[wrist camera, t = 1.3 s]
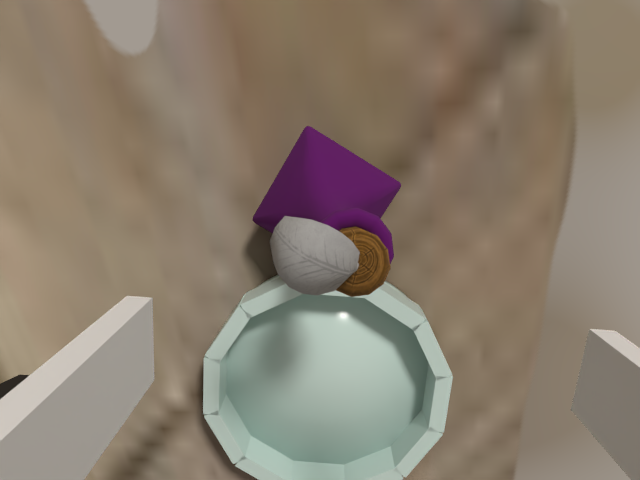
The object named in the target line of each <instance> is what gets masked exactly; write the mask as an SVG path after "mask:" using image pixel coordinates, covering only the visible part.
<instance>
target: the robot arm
mask: <svg viewBox="0 0 640 480" xmlns="http://www.w3.org/2000/svg"><path fill="white" fill-rule="evenodd" d="M153 381H154V346H153V303H152V298H150V297H136V296H126V297H125V298H124V299H123V300H121V301H120V302H119V303H118V304H116V305H115V306H114V307H113V308H112V309H110V310H109V311H108V312H107V313H105V314H104V315H103V316H102V317H101V318H99V319H98V320H97V321H96V322H94V323H93V324H92V325H91V326H89V327H88V328H87V329H86V330H85V331H83V332H82V333H81V334H80V335H78V336H77V337H76V338H75V339H74V340H72V341H71V342H70V343H69V344H67V345H66V346H65V347H64V348H63V349H61V350H60V351H59V352H58V353H56V354H55V355H54V356H53V357H52V358H50V359H49V360H48V361H47V362H45V363H44V364H43V365H42V366H40V367H39V368H38V369H37V370H36V371H34V372H33V373H32V374H31V375H18V376H16V377H14V378H12V379H9V380H7V381H5V382H3V383H1V384H0V480H84V479H85V478H86V476H87V475H88V473H89V472H90V470H91V469H92V468H93V466H94V465H95V463H96V462H97V460H98V459H99V458H100V456H101V455H102V453H103V452H104V451H105V449H106V448H107V446H108V445H109V443H110V442H111V441H112V439H113V438H114V436H115V435H116V433H117V432H118V431H119V429H120V428H121V426H122V425H123V424H124V422H125V421H126V419H127V418H128V416H129V415H130V414H131V412H132V411H133V409H134V408H135V406H136V405H137V404H138V402H139V401H140V399H141V398H142V397H143V395H144V394H145V392H146V391H147V389H148V388H149V387H150V385H151V384H152V382H153ZM571 411H572V412H573V413H574V414H575V415H576V416H577V418H578V419H579V420H580V421H581V422H582V423H583V424H584V426H585V427H586V428H587V429H588V430H589V432H590V433H591V434H592V435H593V436H594V437H595V438H596V440H597V441H598V442H599V443H600V444H601V445H602V447H604V449H605V450H606V451H607V452H608V453H609V455H610V456H611V457H612V458H613V459H614V461H615V462H616V463H617V464H618V465H619V466H620V467H621V469H622V470H623V471H624V472H625V473H626V474H627V475H628V477H629V478H630V479H631V480H640V348H639V347H637V346H636V345H634V344H633V343H632V342H630V341H628V340H627V339H626V338H625V337H623V336H622V335H620V334H619V333H617V332H616V331H611V330H597V329H589V333H588V337H587V342H586V346H585V350H584V355H583V359H582V363H581V368H580V372H579V376H578V381H577V385H576V390H575V394H574V398H573V403H572V407H571Z"/></svg>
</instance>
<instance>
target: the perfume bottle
mask: <svg viewBox="0 0 640 480" xmlns="http://www.w3.org/2000/svg"><path fill="white" fill-rule="evenodd" d="M400 187H401V184H400V182H398V181H397V180H395V179H394V178H392V177H390V176H389V175H387V174H386V173H384V172H382V171H381V170H379V169H377V168H376V167H374V166H373V165H371V164H369V163H368V162H366V161H365V160H363V159H361V158H360V157H358V156H357V155H355V154H353V153H352V152H350V151H349V150H347V149H345V148H344V147H342V146H341V145H339V144H337V143H336V142H334V141H333V140H331V139H329V138H328V137H326V136H325V135H323V134H321V133H320V132H318V131H317V130H315V129H313V128H312V127H310V126H307V127H305V128H304V130H303V132H302V134H301V135H300V137H299V139H298V141H297V142H296V144H295V146H294V147H293V149H292V151H291V153H290V154H289V156H288V158H287V159H286V161H285V163H284V165H283V166H282V168H281V170H280V172H279V173H278V175H277V177H276V178H275V180H274V182H273V184H272V185H271V187H270V189H269V191H268V192H267V194H266V196H265V197H264V199H263V201H262V203H261V204H260V206H259V208H258V209H257V211H256V213H255V215H254V216H253V221H254V222H255V223H256V224H258V225H259V226H261V227H263V228H265V229H266V230H268V231H270V232H271V233H273V234H272V237H271V239H270V246H271V251H272V257H273V262H274V265H275V268H276V271H277V273H278V275H279V276H280V278H281V279H282V280H283V281H284V282H285V283H286V284H287V286H288V287H290V288H292V289H294V290H296V291H298V292H300V293H302V294H308V295H321V294H325V293H329V292H333V291H335V290H336V291H339V292H341V293H343V294H346V295H348V296H350V297H355V296H363V295H369V294H371V293H372V292H373V291H375V290H376V289H377V288H379V287H380V286H382V285H383V284H384V282H385V279H386V277H387V275H388V272H389V270H390V264H391V261H392V259H393V257H394V253H393V244H392V235H391V233H390V231H389V230H388V229H387V227H386V226H385V225H384V223H383V222H382V220H381V219H380V218H381V217H382V215H383V214H384V212H385V211H386V209H387V207H388V206H389V204H390V203H391V201H392V200H393V198H394V197H395V195H396V194H397V192H398V191H399V189H400Z"/></svg>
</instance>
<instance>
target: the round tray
mask: <svg viewBox="0 0 640 480" xmlns="http://www.w3.org/2000/svg"><path fill="white" fill-rule="evenodd" d="M452 379H453V377H452V373H451V371H450V368H449V366H448V364H447V362H446V360H445V357H444V355H443V353H442V351H441V349H440V347H439V344H438V342H437V340H436V338H435V336H434V334H433V331H432V329H431V327H430V325H429V323H428V321H427V319H426V317H425V315H424V313H423V311H422V309H421V308H420V306H419V305H418V304H416V303H415V302H413V301H412V300H410V299H409V298H408V297H407V296H406V295H405V294H404V293H403V292H401V291H400V290H399V289H398V288H396V287H395V286H394V285H392V284H391V283H389V282H387V281H385V282H384V284H383V285H382V286H380V287H379V288H377V289H376V290H375V291H373V292H372V293H371V294H369V295H363V296H355V297H350V296H348V295H346V294H343V293H341V292H339V291H336V290H335V291H333V292H329V293H325V294H321V295H308V294H302V293H300V292H298V291H296V290H294V289H292V288H290V287H288V286H287V284H286V283H285V282H284V281H283V280H282V279H281V278H280V276H279V275H276V276H274V277H272V278H270V279H268V280H266V281H264V282H263V283H261V284H260V285H258V286H257V287H256V288H254V289H253V290H250V291H248V292H246V294H244V295H243V297H242V298H241V300H240V301H239V303H238V304H237V306H236V307H235V308H234V310H233V311H232V312H231V314H230V315H229V317H228V319H227V320H226V322H225V323H224V325H223V326H222V328H221V329H220V331H219V332H218V334H217V335H216V337H215V338H214V340H213V341H212V343H211V345H210V347H209V348H208V350H207V352H206V354H205V357H204V378H203V414H205V415H204V418H205V419H206V421H207V423H208V424H209V426H210V427H211V429H212V431H213V432H214V434H215V436H216V437H217V439H218V440H219V442H220V444H221V445H222V447H223V449H224V450H225V452H226V454H227V455H228V457H229V458H230V460H231V462H232V463H233V464H235V463H236V464H235V466H236V467H238V468H239V469H241V470H243V471H244V472H246V473H248V474H250V475H251V476H253V477H255V478H257V479H258V480H402V479H403V476H404V477H407V475H408V474H409V473H410V472H411V471H412V470H413V468H414V467H415V466H416V465H417V464H418V463H419V462H420V460H421V459H422V458H423V457H424V456H425V455H426V454H427V452H428V451H429V450H430V449H431V448H432V447H433V446H434V444H435V443H436V442H437V441H438V440H439V439H440V437H441V436H442V435H443V434H442V432H444V429H445V422H446V416H447V410H448V404H449V397H450V391H451V385H452Z"/></svg>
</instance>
